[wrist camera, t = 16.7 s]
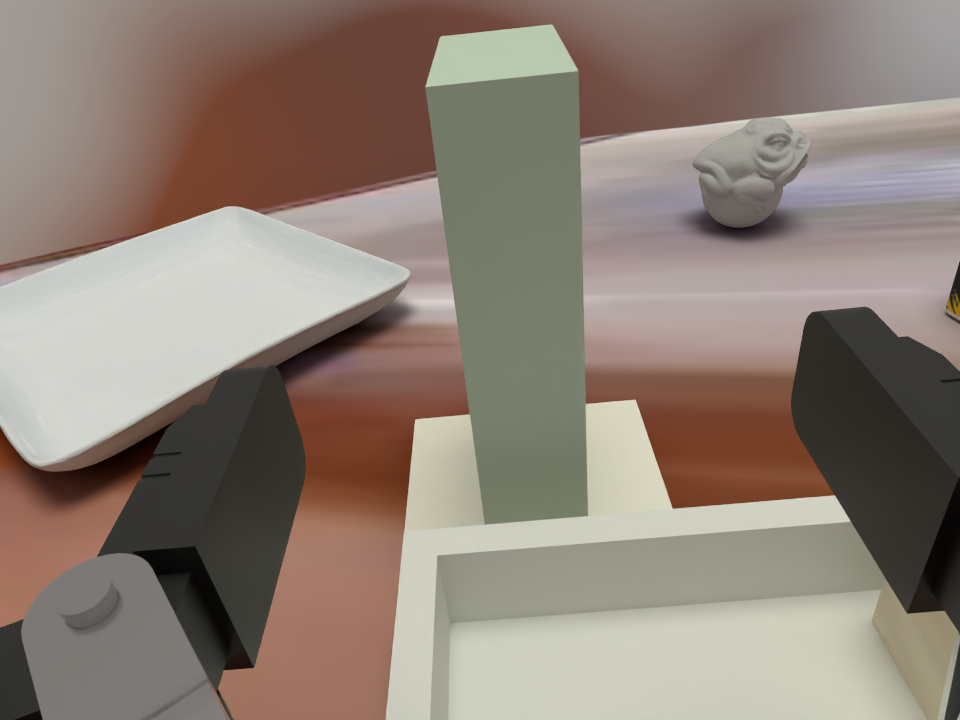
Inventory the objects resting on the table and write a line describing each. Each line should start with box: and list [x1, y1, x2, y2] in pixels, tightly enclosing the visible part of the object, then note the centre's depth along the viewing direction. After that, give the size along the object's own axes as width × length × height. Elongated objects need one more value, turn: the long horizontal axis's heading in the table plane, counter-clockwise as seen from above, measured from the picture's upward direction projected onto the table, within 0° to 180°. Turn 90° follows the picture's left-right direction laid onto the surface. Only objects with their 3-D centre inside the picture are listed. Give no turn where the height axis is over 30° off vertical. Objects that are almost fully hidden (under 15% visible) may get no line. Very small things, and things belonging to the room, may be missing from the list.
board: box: [426, 25, 588, 525], centre depth 23 cm, size 4×7×16 cm, turn 0°
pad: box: [405, 400, 672, 531], centre depth 28 cm, size 10×10×1 cm
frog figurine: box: [692, 118, 812, 228], centre depth 46 cm, size 6×7×7 cm
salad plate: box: [0, 207, 411, 472], centre depth 42 cm, size 21×21×3 cm
